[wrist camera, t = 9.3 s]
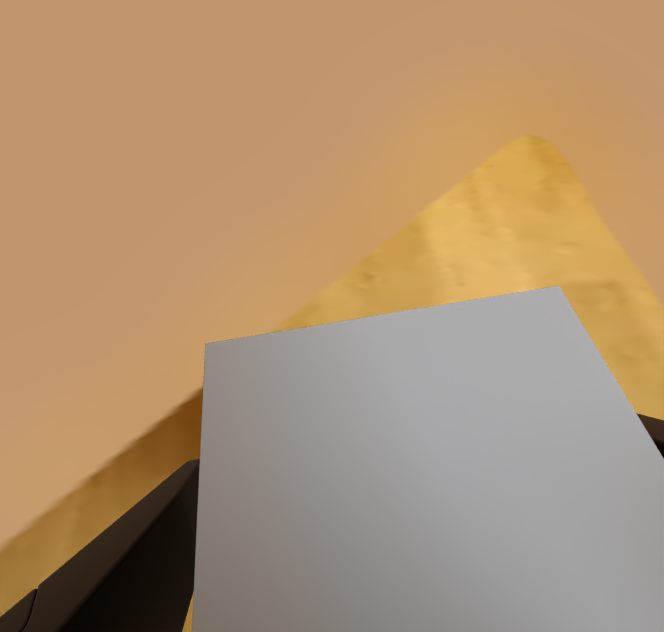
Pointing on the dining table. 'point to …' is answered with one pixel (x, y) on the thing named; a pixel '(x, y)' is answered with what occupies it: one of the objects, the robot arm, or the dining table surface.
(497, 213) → the dining table surface
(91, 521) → the dining table surface
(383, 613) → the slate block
